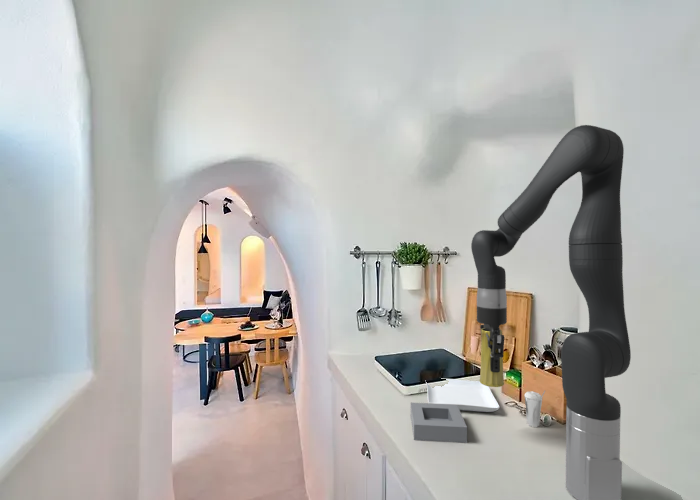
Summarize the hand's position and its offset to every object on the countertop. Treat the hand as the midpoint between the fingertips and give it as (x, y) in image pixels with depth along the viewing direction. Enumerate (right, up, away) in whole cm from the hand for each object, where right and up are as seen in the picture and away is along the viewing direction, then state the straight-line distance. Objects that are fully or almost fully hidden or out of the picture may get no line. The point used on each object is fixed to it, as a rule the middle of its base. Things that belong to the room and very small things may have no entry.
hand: (491, 367), depth 98 cm
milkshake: (+15, -18, +6) cm, 24 cm away
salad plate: (-2, -18, +23) cm, 29 cm away
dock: (-14, -18, +4) cm, 23 cm away
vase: (0, -4, 0) cm, 4 cm away
